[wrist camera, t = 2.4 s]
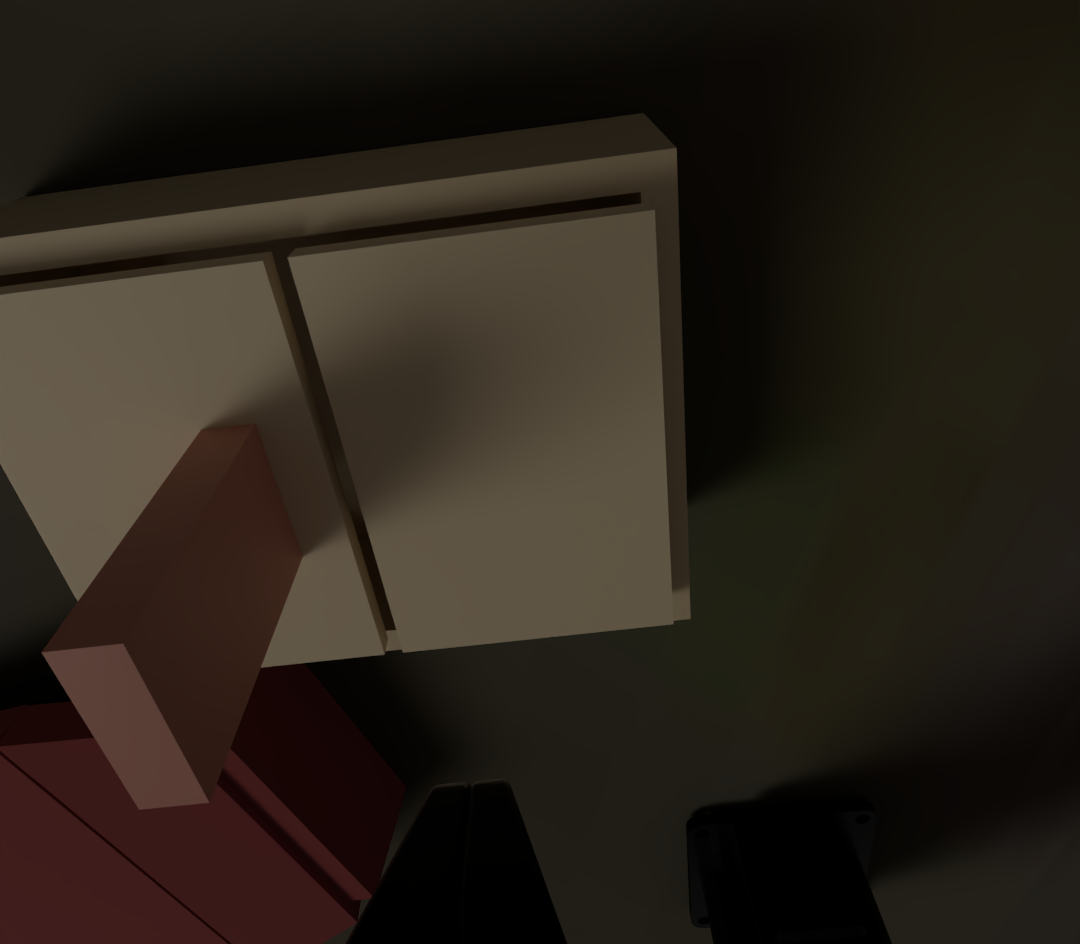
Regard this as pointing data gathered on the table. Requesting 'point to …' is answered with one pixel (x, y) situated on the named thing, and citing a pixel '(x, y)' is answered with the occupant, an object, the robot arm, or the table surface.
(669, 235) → the small beige cabinet
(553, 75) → the table surface
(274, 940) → the carton
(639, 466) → the flap
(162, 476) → the flap
